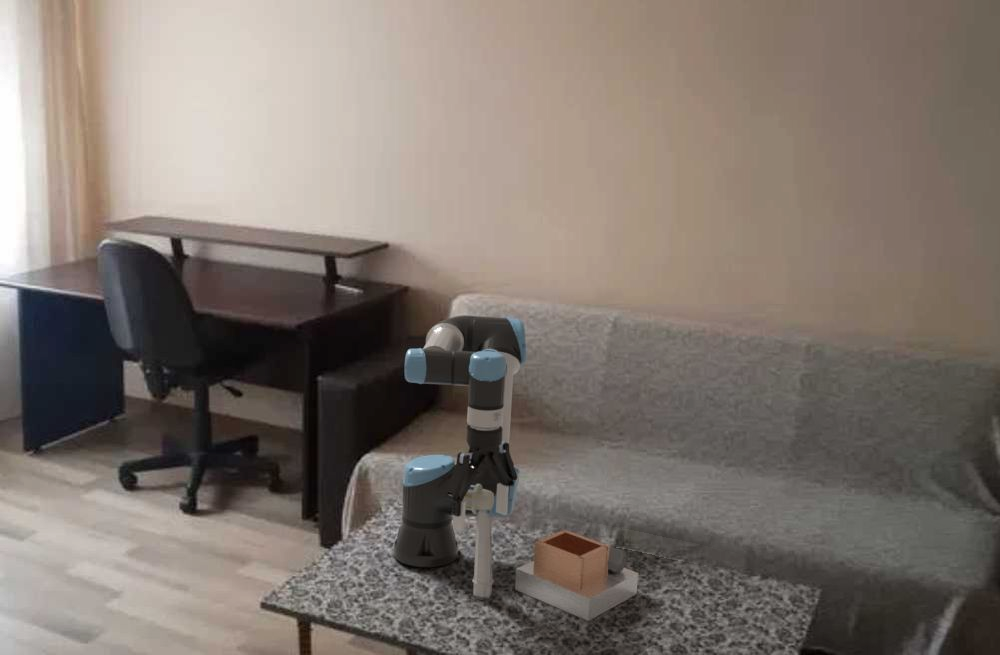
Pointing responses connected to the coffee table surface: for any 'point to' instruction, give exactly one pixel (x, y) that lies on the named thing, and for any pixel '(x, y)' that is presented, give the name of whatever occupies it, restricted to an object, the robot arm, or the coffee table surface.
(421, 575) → the coffee table surface
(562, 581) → the open box on base
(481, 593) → the pale grey tall bar
